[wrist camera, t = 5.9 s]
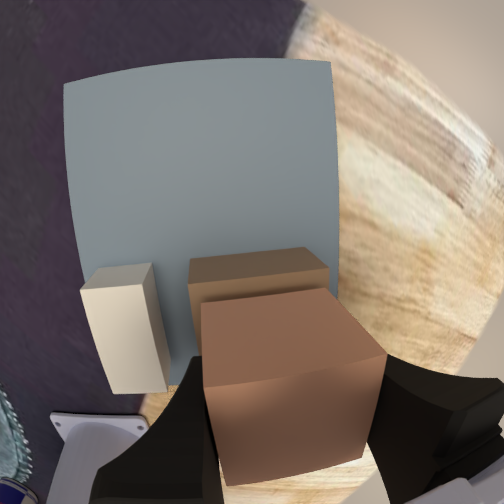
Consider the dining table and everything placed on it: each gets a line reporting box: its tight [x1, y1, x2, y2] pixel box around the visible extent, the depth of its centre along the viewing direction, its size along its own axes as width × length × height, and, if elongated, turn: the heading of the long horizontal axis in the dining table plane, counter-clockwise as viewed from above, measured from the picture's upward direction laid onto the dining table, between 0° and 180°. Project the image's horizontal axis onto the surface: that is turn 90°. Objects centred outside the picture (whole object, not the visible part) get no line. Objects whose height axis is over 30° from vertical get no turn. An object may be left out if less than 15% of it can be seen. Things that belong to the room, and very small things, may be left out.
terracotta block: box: [201, 288, 387, 486], centre depth 11 cm, size 5×5×5 cm
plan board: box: [64, 58, 339, 394], centre depth 14 cm, size 18×14×4 cm
